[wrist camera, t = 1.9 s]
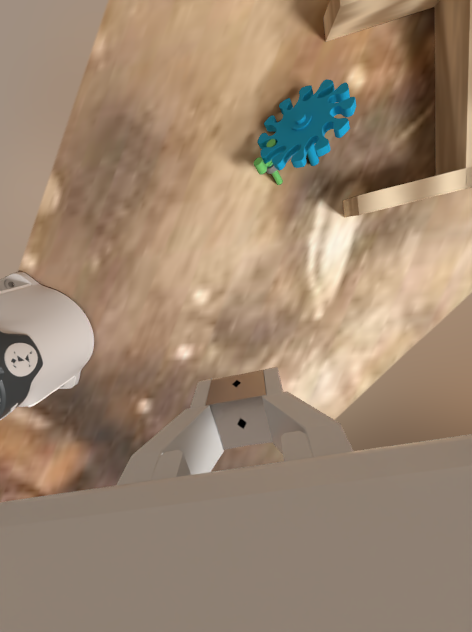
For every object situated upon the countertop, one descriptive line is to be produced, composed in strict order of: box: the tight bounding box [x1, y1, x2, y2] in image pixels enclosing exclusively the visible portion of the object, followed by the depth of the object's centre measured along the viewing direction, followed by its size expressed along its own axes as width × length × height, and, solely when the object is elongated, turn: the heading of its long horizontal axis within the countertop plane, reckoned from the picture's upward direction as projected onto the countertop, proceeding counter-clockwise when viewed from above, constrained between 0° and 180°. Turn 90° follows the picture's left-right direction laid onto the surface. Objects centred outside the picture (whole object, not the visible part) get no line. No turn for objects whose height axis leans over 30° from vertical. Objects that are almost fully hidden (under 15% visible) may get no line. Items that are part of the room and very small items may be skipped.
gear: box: [254, 80, 356, 185], centre depth 28 cm, size 11×6×10 cm
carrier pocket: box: [323, 0, 472, 217], centre depth 27 cm, size 13×20×4 cm, turn 13°
